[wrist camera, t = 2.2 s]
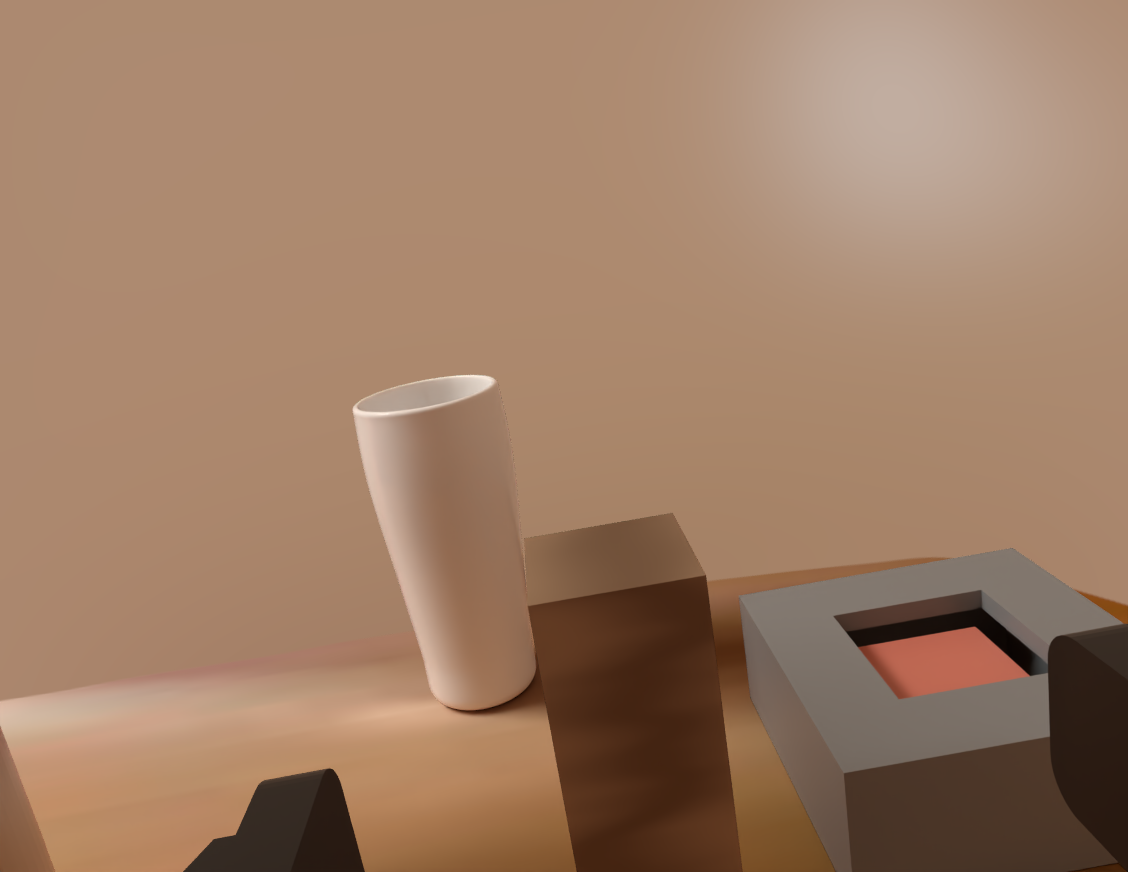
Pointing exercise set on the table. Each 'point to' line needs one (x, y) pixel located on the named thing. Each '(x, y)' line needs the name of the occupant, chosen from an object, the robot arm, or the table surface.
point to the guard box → (921, 717)
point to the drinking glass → (453, 531)
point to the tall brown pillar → (633, 697)
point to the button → (940, 662)
